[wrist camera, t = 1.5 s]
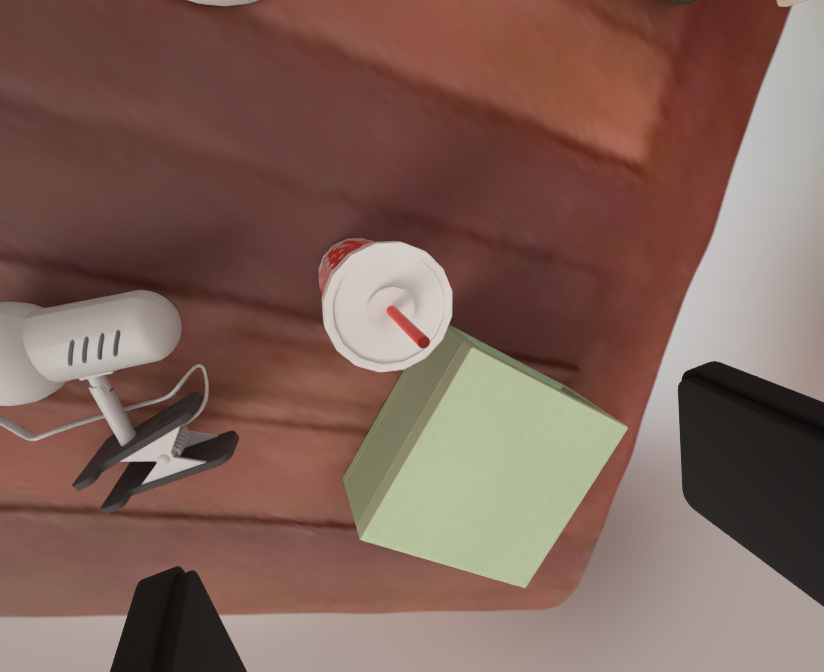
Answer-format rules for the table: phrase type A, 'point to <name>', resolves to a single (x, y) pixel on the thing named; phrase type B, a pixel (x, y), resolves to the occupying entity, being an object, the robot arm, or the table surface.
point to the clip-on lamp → (95, 358)
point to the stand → (477, 461)
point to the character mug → (782, 0)
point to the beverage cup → (383, 302)
